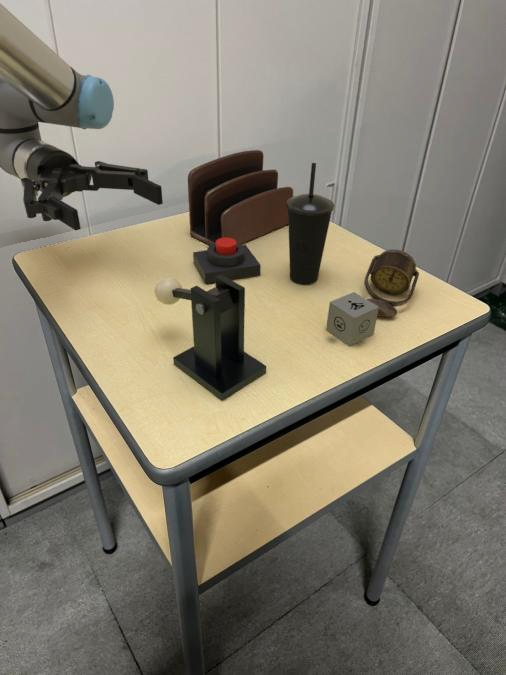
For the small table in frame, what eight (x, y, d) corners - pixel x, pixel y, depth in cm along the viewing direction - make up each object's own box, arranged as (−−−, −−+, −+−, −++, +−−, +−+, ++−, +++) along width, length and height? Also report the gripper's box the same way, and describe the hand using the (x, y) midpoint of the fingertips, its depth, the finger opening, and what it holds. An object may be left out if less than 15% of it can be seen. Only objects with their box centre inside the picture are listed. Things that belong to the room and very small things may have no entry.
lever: (153, 306, 73) (146, 281, 71) (175, 297, 75) (168, 272, 73) (217, 321, 62) (209, 292, 61) (239, 310, 65) (233, 281, 63)
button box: (205, 284, 88) (204, 263, 86) (193, 263, 94) (192, 242, 92) (260, 275, 91) (260, 255, 88) (245, 255, 97) (245, 235, 94)
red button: (219, 257, 88) (219, 247, 87) (213, 247, 91) (213, 238, 90) (239, 254, 89) (239, 245, 88) (232, 245, 92) (232, 236, 91)
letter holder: (189, 236, 103) (185, 165, 94) (259, 209, 114) (260, 144, 106) (223, 253, 97) (222, 179, 89) (292, 223, 109) (297, 155, 100)
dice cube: (349, 346, 75) (354, 318, 72) (326, 329, 78) (329, 302, 75) (373, 334, 77) (378, 306, 74) (349, 319, 81) (353, 291, 78)
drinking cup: (283, 265, 94) (290, 154, 82) (326, 269, 93) (339, 157, 81) (279, 287, 88) (286, 170, 76) (324, 291, 87) (339, 173, 75)
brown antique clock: (443, 267, 83) (393, 235, 88) (405, 290, 75) (351, 253, 79) (423, 301, 88) (376, 269, 92) (384, 326, 80) (335, 290, 84)
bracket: (173, 364, 71) (166, 283, 63) (217, 340, 76) (215, 262, 68) (222, 401, 65) (220, 317, 58) (266, 372, 70) (270, 292, 62)
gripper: (117, 175, 94) (191, 209, 82) (-23, 210, 80) (42, 259, 68) (111, 132, 90) (188, 162, 78) (-38, 161, 75) (28, 204, 63)
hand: (120, 207), depth 73 cm, fingers open, 13 cm apart
